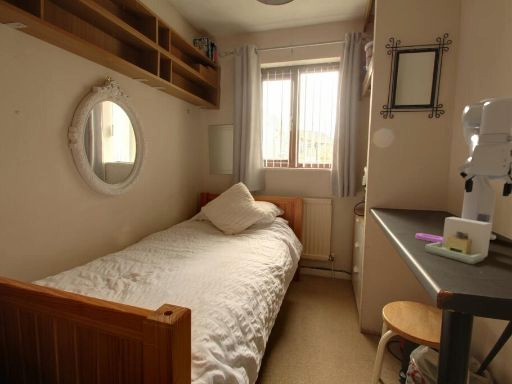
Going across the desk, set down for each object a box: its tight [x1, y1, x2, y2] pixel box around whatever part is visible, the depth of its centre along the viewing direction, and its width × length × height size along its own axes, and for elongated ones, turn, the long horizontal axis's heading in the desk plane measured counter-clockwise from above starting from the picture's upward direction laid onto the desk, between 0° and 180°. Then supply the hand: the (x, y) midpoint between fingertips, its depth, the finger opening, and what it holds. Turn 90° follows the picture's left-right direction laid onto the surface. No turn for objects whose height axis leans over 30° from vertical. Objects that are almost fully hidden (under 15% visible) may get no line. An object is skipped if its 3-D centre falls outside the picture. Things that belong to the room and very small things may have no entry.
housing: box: [441, 216, 493, 258], centre depth 82 cm, size 5×10×10 cm, turn 31°
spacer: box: [446, 236, 472, 255], centre depth 80 cm, size 3×5×4 cm
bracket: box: [414, 232, 443, 245], centre depth 95 cm, size 13×6×7 cm, turn 45°
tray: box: [424, 242, 486, 265], centre depth 79 cm, size 8×12×2 cm, turn 31°
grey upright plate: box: [461, 214, 490, 239], centre depth 85 cm, size 13×2×7 cm, turn 121°
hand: (486, 194), depth 87 cm, fingers open, 9 cm apart
